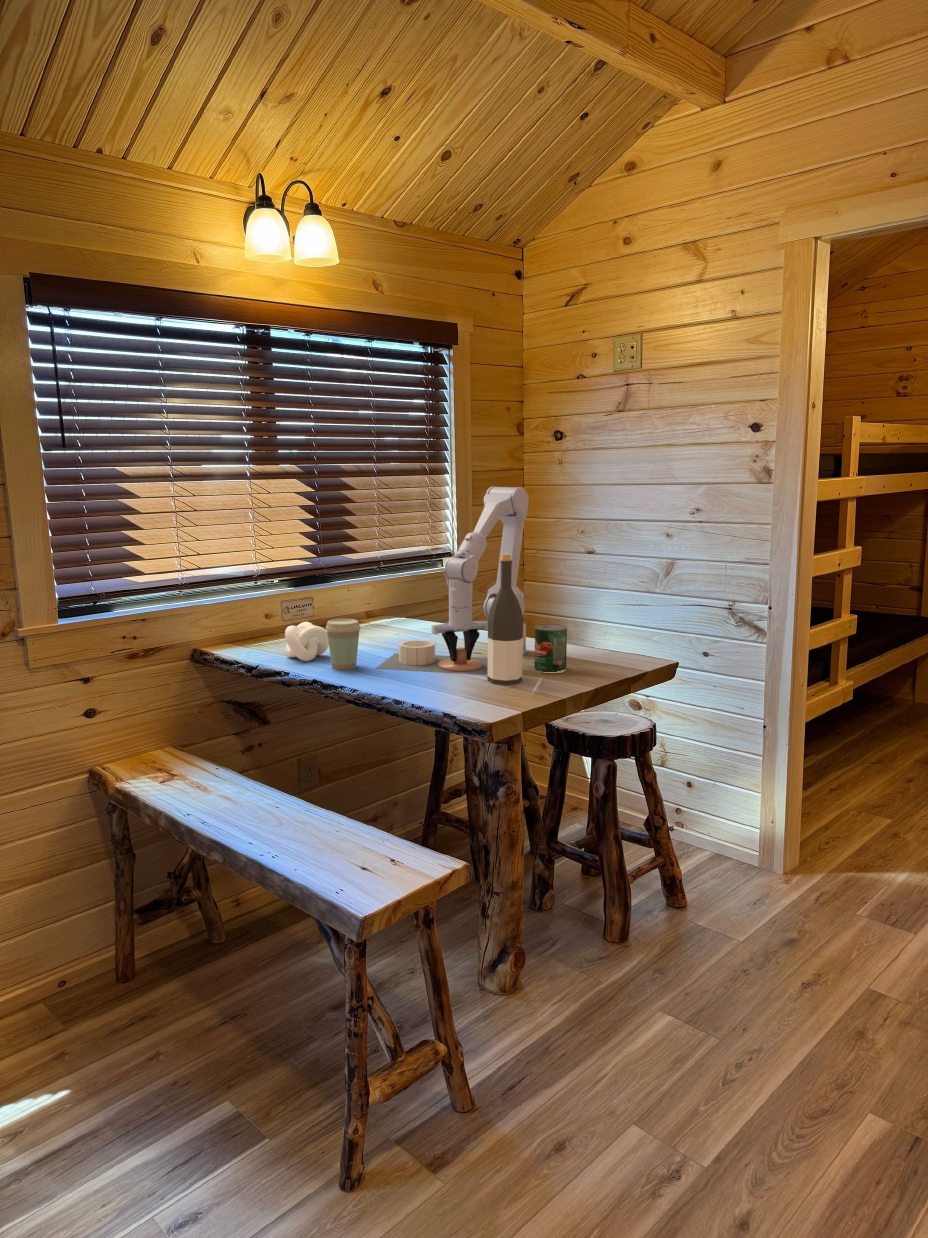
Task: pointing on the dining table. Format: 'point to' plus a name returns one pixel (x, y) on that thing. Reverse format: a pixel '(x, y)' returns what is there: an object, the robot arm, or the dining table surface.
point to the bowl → (416, 652)
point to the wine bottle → (505, 632)
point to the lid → (460, 662)
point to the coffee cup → (343, 642)
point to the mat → (429, 665)
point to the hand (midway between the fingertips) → (460, 660)
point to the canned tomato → (550, 647)
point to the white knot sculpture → (306, 641)
